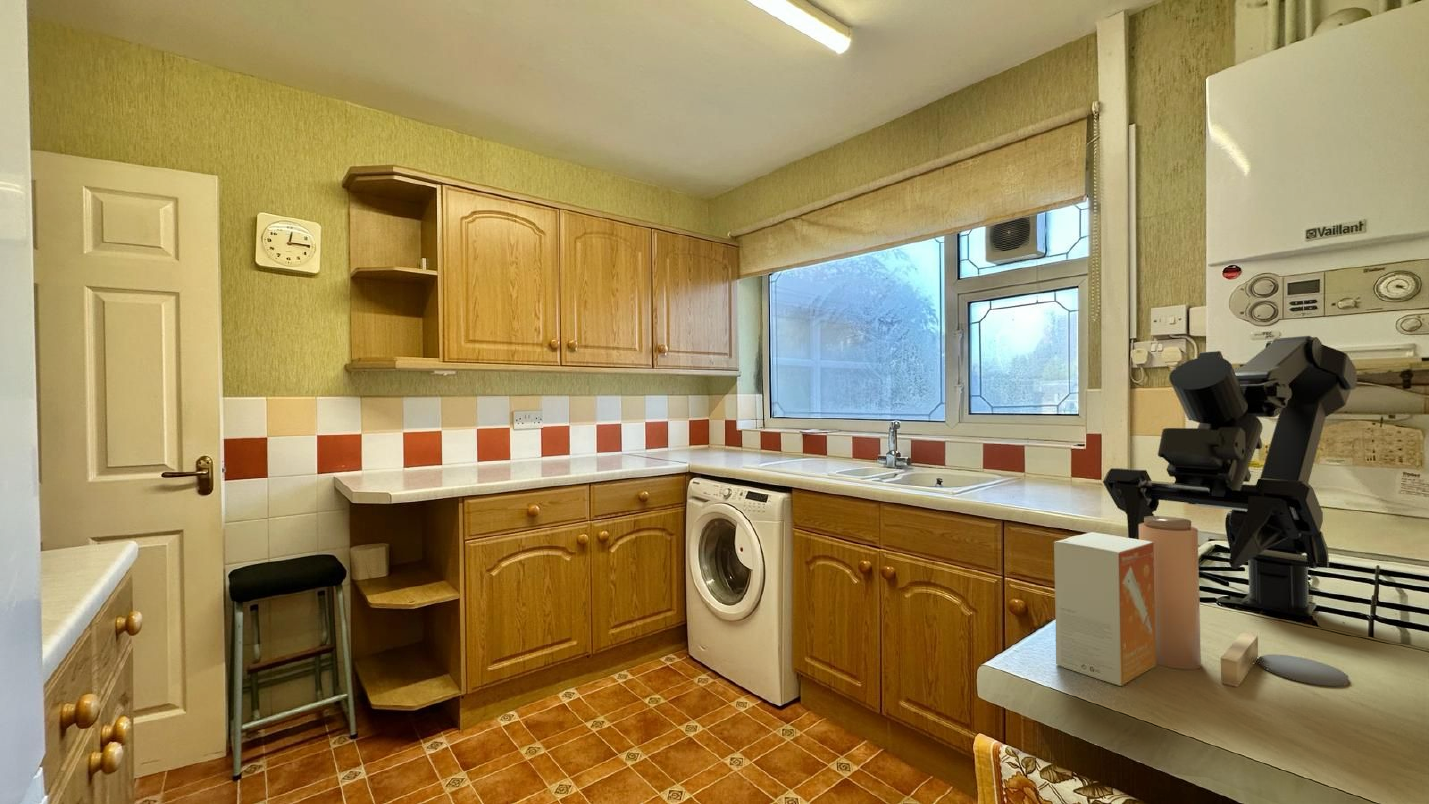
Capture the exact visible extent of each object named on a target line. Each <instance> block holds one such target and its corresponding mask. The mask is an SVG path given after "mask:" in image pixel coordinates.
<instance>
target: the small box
mask: <svg viewBox="0 0 1429 804" xmlns="http://www.w3.org/2000/svg"><path fill="white" fill-rule="evenodd" d="M1053 551H1054V552H1053V557H1054V559H1053V561H1054V562H1053V565H1054V566H1053V567H1054V571H1053V572H1054V603H1055V605H1054V606H1055V608H1054V609H1055V610H1054V611H1055V612H1054V613H1055V615H1054V616H1055V664H1056V665H1057V666H1059V667H1062V668H1065V669H1068V670H1070V671H1073V672H1077V673H1080V674H1082V675H1085V676H1089V677H1091V678H1094V679H1098V680H1100V681H1104V682H1107V683H1110V684H1113V685H1116V686H1120V687H1123V686H1124V685H1126V684H1127V683H1128V682H1130V681H1131V680H1133V679H1135V678H1137V677H1139V676H1140V675H1142V674H1144V673H1146V672H1147V671H1149V670H1151V669H1154V668H1155V667H1156V666H1157V665H1156V655H1155V602H1154V542H1151V541H1145V540H1138V539H1132V538H1128V537H1125V536H1120V535H1119V536H1118V535H1113V534H1107V533H1106V534H1105V533H1100V532H1096V531H1095V532H1094V531H1090V532H1087V533H1083V534H1079V535H1073V536H1069V537H1066V538H1064V539H1059V540H1055V541H1053Z"/></svg>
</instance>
